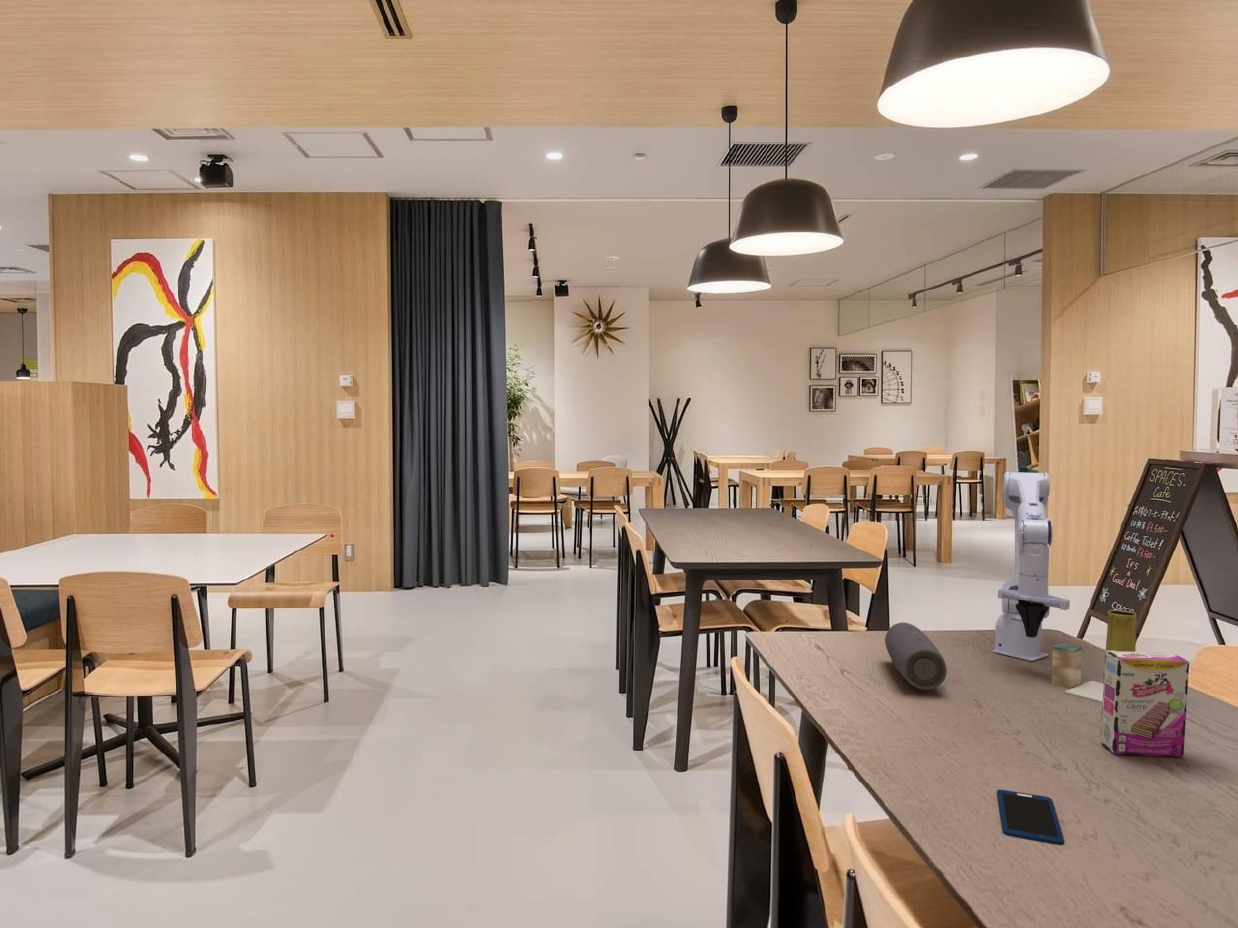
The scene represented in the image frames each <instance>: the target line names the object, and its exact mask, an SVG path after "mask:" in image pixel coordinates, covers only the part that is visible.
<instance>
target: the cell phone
mask: <svg viewBox="0 0 1238 928" xmlns="http://www.w3.org/2000/svg"><path fill="white" fill-rule="evenodd" d="M996 796H997V797H996V798H997V804H998V810H999V811H998V812H999V819H1000V825H1001V829H1002V830H1001V831H1002V833H1003V834H1004V835H1006V836H1008V837H1014V838H1018V839H1024V840H1030V841H1036V842H1041V843H1047V844H1052V845H1059V846H1063V845H1064V844H1065V839H1064V838H1065V837H1064V834H1063V831H1062V827H1061V825H1060V821H1059V818H1058V813H1057V810H1056V808H1055V804H1054V801H1053V799H1052V798H1051V797H1049V796H1044V795H1038V794H1033V793H1026V792H1018V791H1015V790H1014V791H1012V790H1005V789H997V790H996Z"/></svg>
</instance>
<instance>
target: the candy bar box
mask: <svg viewBox="0 0 1238 928" xmlns="http://www.w3.org/2000/svg"><path fill="white" fill-rule="evenodd" d="M1104 665H1105V667H1104V668H1103V672H1104V675H1103V683H1104V686H1103V703H1102V707H1101V708H1102V710H1101V725H1100V727H1101V728H1100V744H1101V745H1102V746H1104V747H1105V748H1106V750H1108V751H1109V752H1110V753H1112V754H1114V755H1127V756H1143V757H1144V756H1145V757H1146V756H1148V757H1166V758H1168V757H1169V758H1184V753H1185V752H1184V751H1185V737H1186V736H1185V735H1186V720H1187V704H1188V703H1187V701H1188V690H1189V689H1188V687H1189V672H1190V670H1189V669H1190V661H1189V660H1187V659H1186V658H1183V657H1181V656H1179V655H1177V654H1175V653H1172V652H1152V651H1146V652H1145V651H1136V652H1132V651H1106V650H1105V653H1104Z"/></svg>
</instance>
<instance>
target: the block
mask: <svg viewBox="0 0 1238 928" xmlns="http://www.w3.org/2000/svg"><path fill="white" fill-rule="evenodd" d="M1082 649H1083V647H1080V646H1077V645H1071V644H1067V643H1064V642H1063V643H1059V644H1055V645H1053V646H1052V659H1051V660H1052V665H1051V684H1052V685H1055V686H1056V685H1057V686H1060V687H1062V688H1068V689H1072V688H1075V687H1077V686H1080V685H1082V684H1081V683H1082V682H1081V680H1082V679H1081V677H1082V654H1083V653H1082Z"/></svg>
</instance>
